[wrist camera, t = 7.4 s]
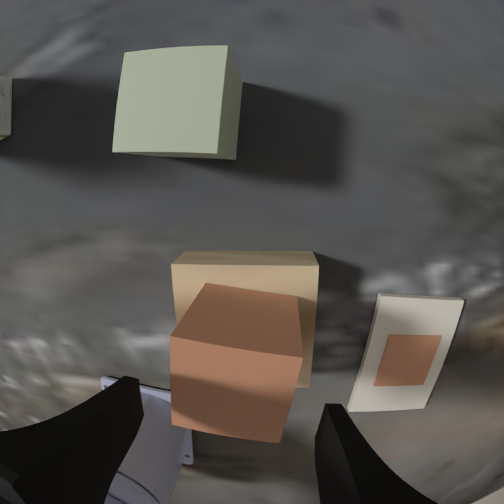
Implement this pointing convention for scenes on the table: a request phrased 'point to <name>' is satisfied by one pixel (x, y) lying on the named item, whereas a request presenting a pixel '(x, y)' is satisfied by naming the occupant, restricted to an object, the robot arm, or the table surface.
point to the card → (404, 351)
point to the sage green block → (179, 103)
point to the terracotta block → (236, 363)
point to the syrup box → (5, 106)
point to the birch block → (254, 284)
